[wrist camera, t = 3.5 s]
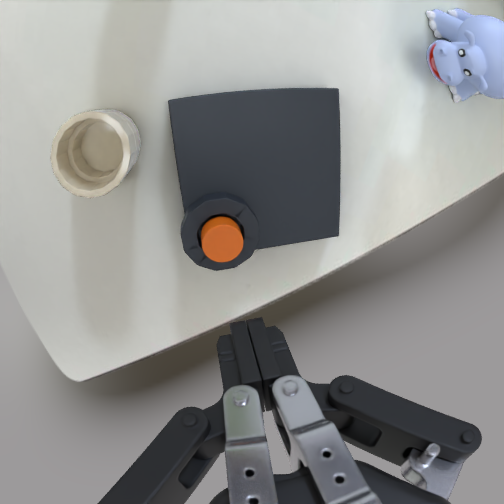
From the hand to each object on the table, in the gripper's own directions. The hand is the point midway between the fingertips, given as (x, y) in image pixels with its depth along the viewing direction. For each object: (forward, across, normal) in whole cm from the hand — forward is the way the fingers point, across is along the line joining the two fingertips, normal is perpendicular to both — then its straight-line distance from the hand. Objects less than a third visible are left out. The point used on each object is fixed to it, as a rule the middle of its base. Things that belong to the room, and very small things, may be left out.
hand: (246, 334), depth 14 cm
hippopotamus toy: (+15, -26, -16) cm, 34 cm away
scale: (+14, -4, -4) cm, 15 cm away
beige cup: (+14, +8, -8) cm, 18 cm away
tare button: (+11, 0, 0) cm, 11 cm away
